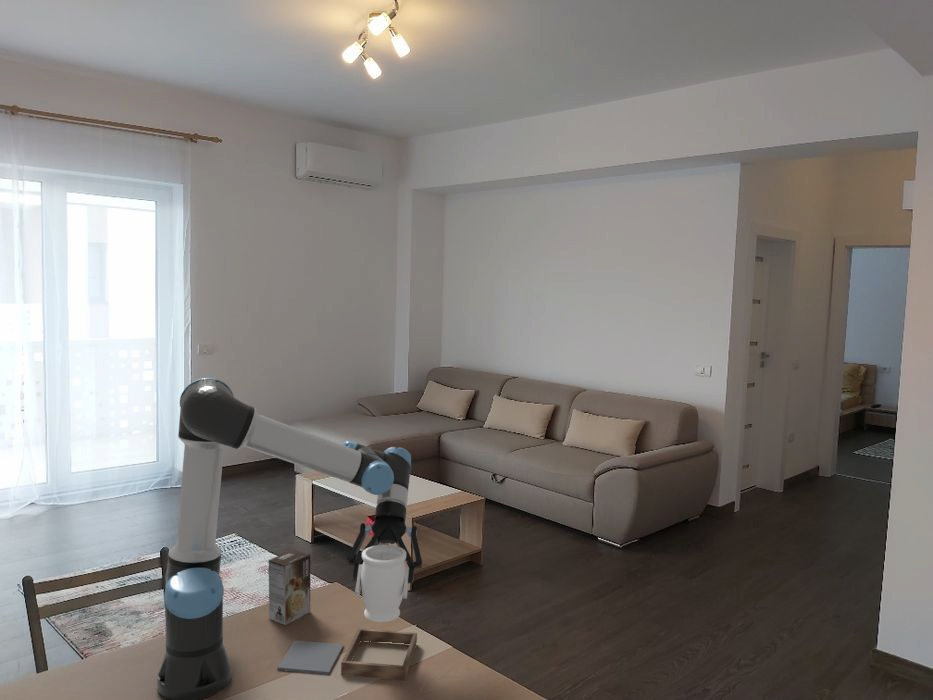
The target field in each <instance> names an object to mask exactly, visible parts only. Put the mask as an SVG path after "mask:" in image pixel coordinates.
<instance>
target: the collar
mask: <svg viewBox="0 0 933 700" xmlns="http://www.w3.org/2000/svg"><path fill="white" fill-rule="evenodd" d="M417 637H418V632H408V631H397V630H386V629H385V630H384V629H373V628H370V629H369V628H360V627H359V628H357V630H356V631H355V634H354V637H353V638H352V640H351V642H350V644H349V646H348V647H347V650H346V652H345V654H344V656H343V658H342V660H341V663H340V665H341V666H340V675H341V676H346V675H348V676H349V677H361V678H369V679H383V680H393V681H394V680H395V681H404V682H405V681H406V679H407V676H408V672H409V670H410V667H411V663H412V661H411V660H413V658H414V653H415V651H416V648H417V645H416V643H418V642H417V641H418V638H417ZM360 641H369V642H368V643H370V641H371V642H392V643H404V644H410V645H409V646H408V647H407V651H406V654H405V657H404V659H403V663H402V664H401V665H399V664H398V665H397V664H387V663H375V662H364V661H353V659H352V658H354V657H355V655H354V654H356V652H357V650H358V649H359V646H360V644H361V642H360ZM359 643H360V644H359ZM415 647H416V648H415ZM414 650H415V651H414ZM353 656H354V657H353ZM412 657H413V658H412ZM351 660H352V661H351Z"/></svg>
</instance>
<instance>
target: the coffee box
mask: <svg viewBox="0 0 933 700" xmlns="http://www.w3.org/2000/svg"><path fill="white" fill-rule="evenodd" d="M310 612H311V554H310V553H308V552H307V553H306V552H304V551H299V550H296V549H292V550H289V551H287V552H285V553H283V554H281V555H278V556H276V557H273V558H271V559H268V619H269V620H270V621H273V620H274V622H276V623H278V622H279V623H278V624H281V625H283V624H284V626H287V625H289V624H291V623H294V621H296V620H298V619H300V618H302V617H303V616H305V615H307V614H309V613H310Z"/></svg>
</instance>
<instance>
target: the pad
mask: <svg viewBox="0 0 933 700" xmlns="http://www.w3.org/2000/svg"><path fill="white" fill-rule="evenodd" d="M342 648H343V649H344V644H341V643H331V642H328V643H327V642H318V641H306V640H294V642H293V643H292V645H291V646H290V648H289V649H288V651H287V652H286V654H285V655H284V657H283V658H282V660H281V661H280V662H279V664H278V666H277V667H276V669H277V671H284V670H287V671H286V672H294V673H295V672H296V673H310V674H319V675H321V674H322V675H330V674H331V672H332V670H333V668H334V666H335V664H336V662H337V660H338V659H339V656H340V655H341V653H342V651H343V649H342ZM340 652H341V653H340Z"/></svg>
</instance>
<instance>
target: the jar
mask: <svg viewBox="0 0 933 700" xmlns="http://www.w3.org/2000/svg"><path fill="white" fill-rule="evenodd" d="M362 551H363V552H362ZM362 551H361V552H362V559H363V560H364V562H363V564H362V570H361V591H362V593H361V594H362V595H361V596H362V601H363V605H364V607H365V609H364V612H363V615H364V617H365V618H366V619H367V620H368V621H370V622H373V623H388V622H391V621H392V622H393V621H394V620H396V619H397V618H399V617H400V615H401V610H400V605H401V603H402V601H403V590H404V580H405V570H406V561H405V559H406V551H405V550H404V549H402V548H400V547H398V546H397V545H394V544H378V545H376V546H371V547H368V548H366V549H365V550H364V549H362Z"/></svg>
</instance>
